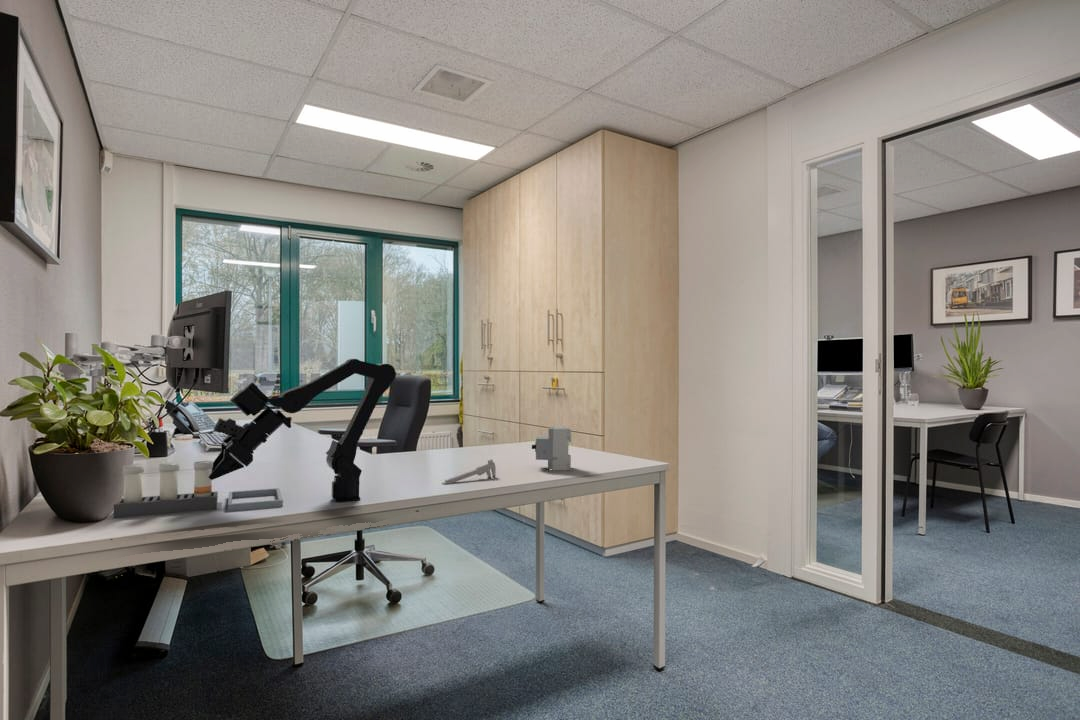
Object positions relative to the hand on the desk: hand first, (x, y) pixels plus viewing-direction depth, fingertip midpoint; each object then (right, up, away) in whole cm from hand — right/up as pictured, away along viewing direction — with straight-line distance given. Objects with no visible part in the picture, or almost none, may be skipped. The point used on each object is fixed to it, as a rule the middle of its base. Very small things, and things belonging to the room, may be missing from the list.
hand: (209, 475), depth 140 cm
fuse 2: (-7, -8, -4) cm, 11 cm away
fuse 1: (-14, -7, -7) cm, 17 cm away
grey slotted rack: (-7, -9, -4) cm, 12 cm away
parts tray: (+8, -9, +6) cm, 14 cm away
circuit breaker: (+85, -12, +70) cm, 110 cm away
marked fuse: (-1, -8, -1) cm, 8 cm away
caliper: (+58, -11, +45) cm, 75 cm away
